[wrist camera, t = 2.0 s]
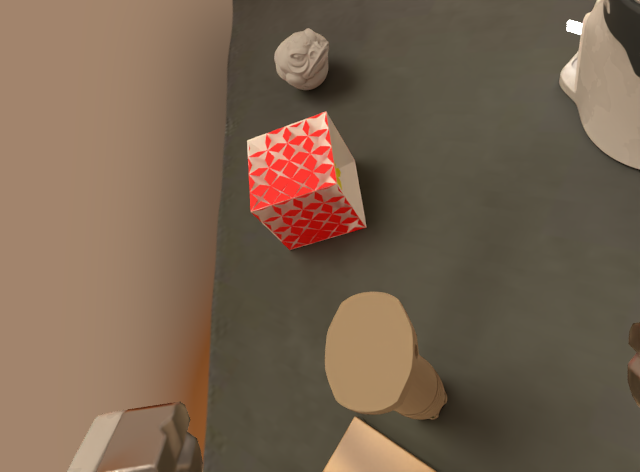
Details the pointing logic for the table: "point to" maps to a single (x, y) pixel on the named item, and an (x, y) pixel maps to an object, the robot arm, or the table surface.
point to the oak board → (371, 453)
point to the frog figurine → (303, 59)
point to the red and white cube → (304, 183)
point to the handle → (380, 360)
